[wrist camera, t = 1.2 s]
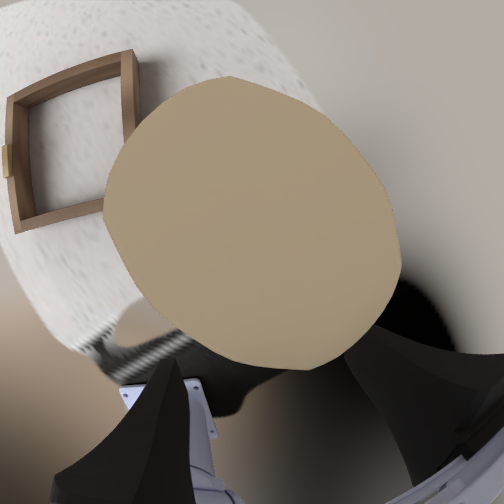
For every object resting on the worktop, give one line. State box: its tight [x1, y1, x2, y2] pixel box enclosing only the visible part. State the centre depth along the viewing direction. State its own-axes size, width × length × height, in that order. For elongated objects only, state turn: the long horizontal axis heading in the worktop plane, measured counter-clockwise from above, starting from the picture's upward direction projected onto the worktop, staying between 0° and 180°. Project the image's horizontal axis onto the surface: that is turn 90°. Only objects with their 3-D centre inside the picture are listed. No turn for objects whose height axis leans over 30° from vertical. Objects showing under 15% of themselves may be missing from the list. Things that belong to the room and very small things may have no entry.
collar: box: [2, 49, 141, 234], centre depth 14 cm, size 11×11×3 cm
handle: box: [103, 76, 402, 370], centre depth 12 cm, size 5×6×15 cm
